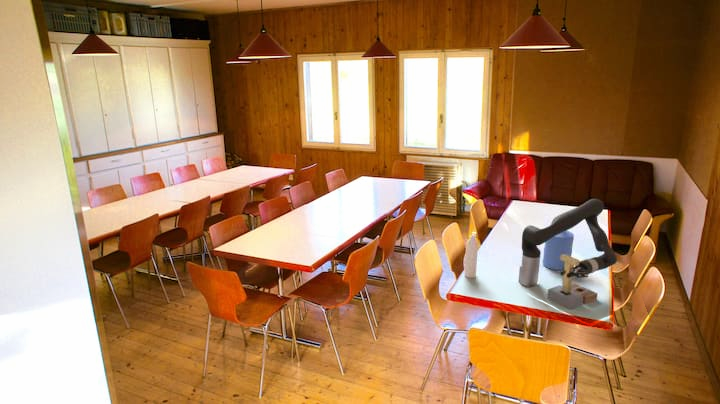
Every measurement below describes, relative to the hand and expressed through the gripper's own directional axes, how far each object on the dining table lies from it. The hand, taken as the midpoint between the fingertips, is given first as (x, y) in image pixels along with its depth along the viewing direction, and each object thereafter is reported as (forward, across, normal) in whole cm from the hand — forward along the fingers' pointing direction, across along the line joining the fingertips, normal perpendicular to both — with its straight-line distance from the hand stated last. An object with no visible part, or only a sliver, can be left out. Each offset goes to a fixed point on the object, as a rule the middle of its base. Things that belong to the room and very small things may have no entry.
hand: (564, 274), depth 239 cm
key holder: (-3, 0, +17) cm, 17 cm away
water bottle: (+15, -50, +17) cm, 55 cm away
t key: (-3, 0, +10) cm, 10 cm away
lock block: (-14, 0, +17) cm, 22 cm away
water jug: (-39, -34, +17) cm, 54 cm away
